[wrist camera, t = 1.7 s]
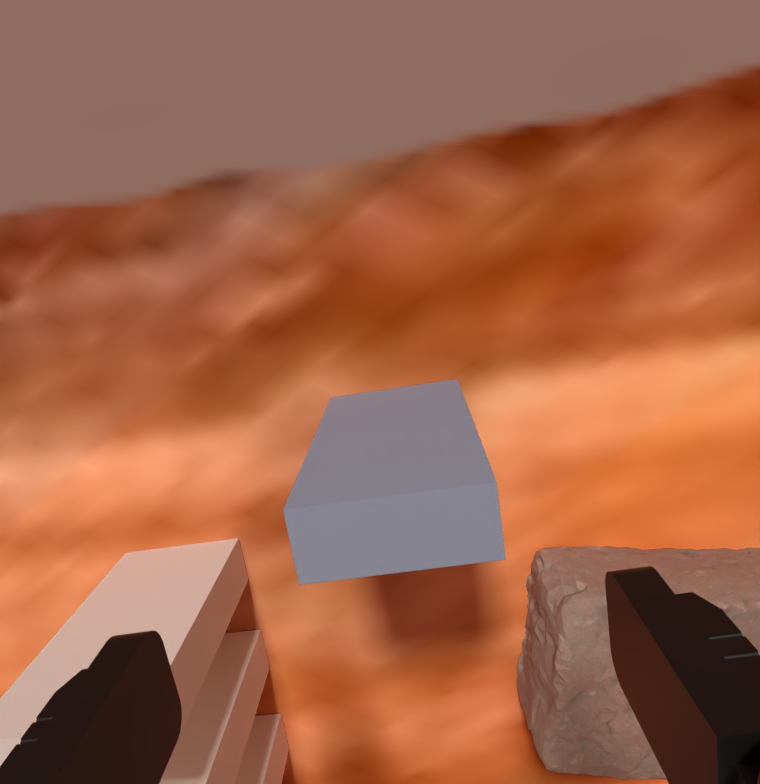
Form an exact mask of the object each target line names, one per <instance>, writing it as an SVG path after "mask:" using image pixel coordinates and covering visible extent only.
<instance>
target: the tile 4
mask: <svg viewBox="0 0 760 784" xmlns="http://www.w3.org/2000/svg"><path fill="white" fill-rule="evenodd" d="M288 752H289V746H288V742H287V738H286V733H285V729H284V725H283V721H282V717H281V713H280V714H270V715H261V716H255V718H254V721H253V724H252V728H251V731H250V734H249V738H248V741H247V744H246V747H245V751H244V754H243V757H242V761H241V764H240V767H239V771H238V774H237V777H236V780H235V784H282V779H283V774H284V770H285V765H286V761H287V756H288Z"/></svg>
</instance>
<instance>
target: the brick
mask: <svg viewBox="0 0 760 784" xmlns="http://www.w3.org/2000/svg"><path fill="white" fill-rule="evenodd" d="M647 566H652V567H654V568H655V569H656V570H657V572H658V573H659V574H660V576H661V577H662V578H663V579H664V581H665V582H666V583H667V585H668V586H669V587H670V588H671V590H672V591H673V592H674V594H680V593H688V592H693V593H695V594H697V595H698V596H700V597H702V598H703V599H705V600H707V601H709V602H710V603H712V604H714V605H715V606H717V607H719V608H720V609H722V610H723V611H724V612H725V614H726V615H727V616H728V617H729V618H730V619H731V620H732V622H733V623H734V624H735V625H736V626H737V627H738V629H739V630H740V631H741V633H742V636H745V637H746V638H747V639H748V640H749V641H750V642H751V643H752V645H753V646H754V647H755V648H756V649H757V650H758V653H759V656H760V549H759V548H746V549H739V550H733V549H727V548H726V549H724V548H721V549H701V550H693V549H674V548H663V549H649V550H642V549H636V548H629V547H610V546H606V547H596V546H586V547H552V548H544V549H541V550H539V551H536V553H535V556H534V558H533V561H532V564H531V574H530V575H529V576H528V577H527V583H526V587H527V590H528V595H527V596H528V598H529V602H528V605H527V607H528V610H529V611H528V615H527V621H526V625H525V628H526V633H525V634H526V637H525V638H524V639H523V643H522V652H521V654H520V656H519V659H518V664H517V674H518V676H517V691H518V695H519V699H520V703H521V706H522V708H523V709H524V714H525V718H526V722H527V726H528V730H530V731H531V734H533V736H532V738H533V743H534V746H535V748H536V751H537V753H538V755H539V757H540V758H541V760H542V762H543V764H544V766H545V767H546V769H547V770H550V771H554V772H561V773H569V774H578V775H579V774H585V775H591V776H597V777H603V776H606V777H611V778H617V779H623V780H624V779H629V778H632V779H667V778H666V776H665V774H664V772H663V770H662V768H661V766H660V764H659V762H658V760H657V758H656V756H655V754H654V752H653V750H652V748H651V746H650V744H649V742H648V740H647V738H646V736H645V734H644V732H643V730H642V728H641V726H640V724H639V722H638V720H637V718H636V716H635V714H634V712H633V710H632V708H631V706H630V704H629V702H628V700H627V698H626V696H625V694H624V692H623V690H622V688H621V686H620V684H619V681H618V678H617V675H616V672H615V668H614V665H613V660H612V655H611V649H610V637H609V625H608V613H607V600H606V588H605V576H606V573H607V572H609V571H616V570H624V569H631V568H639V567H647Z"/></svg>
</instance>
